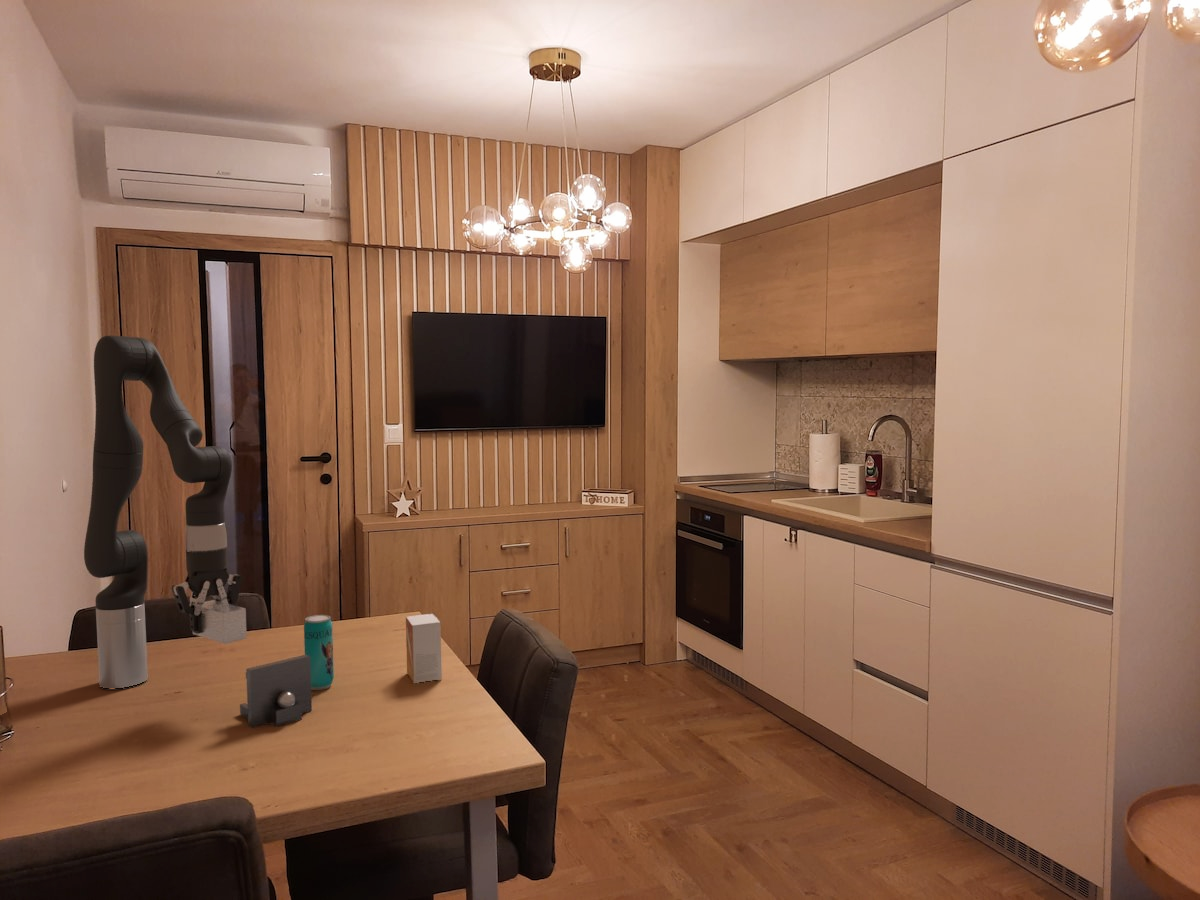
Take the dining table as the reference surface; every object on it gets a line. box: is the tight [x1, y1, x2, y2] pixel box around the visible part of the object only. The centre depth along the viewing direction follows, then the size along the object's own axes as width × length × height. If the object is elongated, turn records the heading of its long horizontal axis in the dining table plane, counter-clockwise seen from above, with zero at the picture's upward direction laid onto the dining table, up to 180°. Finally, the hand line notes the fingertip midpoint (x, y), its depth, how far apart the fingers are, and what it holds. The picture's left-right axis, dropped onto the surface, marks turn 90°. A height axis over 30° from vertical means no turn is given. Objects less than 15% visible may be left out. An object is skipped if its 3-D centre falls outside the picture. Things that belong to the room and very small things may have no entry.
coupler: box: [239, 654, 313, 729], centre depth 165 cm, size 12×12×11 cm
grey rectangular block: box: [192, 599, 248, 645], centre depth 169 cm, size 13×4×6 cm, turn 54°
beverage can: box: [303, 614, 335, 691], centre depth 181 cm, size 6×6×15 cm
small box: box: [405, 613, 443, 684], centre depth 187 cm, size 8×6×13 cm
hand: (209, 629), depth 171 cm, fingers closed on grey rectangular block, 4 cm apart
